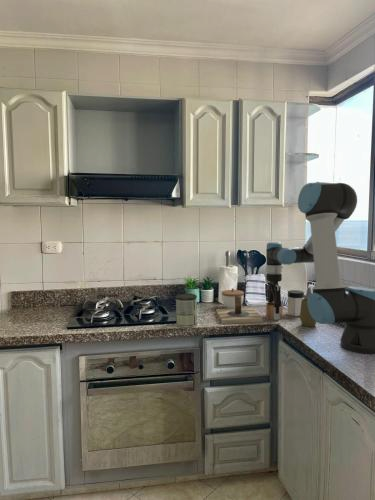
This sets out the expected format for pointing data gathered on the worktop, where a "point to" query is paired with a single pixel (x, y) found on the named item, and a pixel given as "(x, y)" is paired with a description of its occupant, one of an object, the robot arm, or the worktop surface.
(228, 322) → the post stand
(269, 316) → the copper sleeve
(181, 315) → the coffee can
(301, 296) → the jar
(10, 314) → the worktop surface
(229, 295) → the lidded bowl
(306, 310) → the squeeze bottle
